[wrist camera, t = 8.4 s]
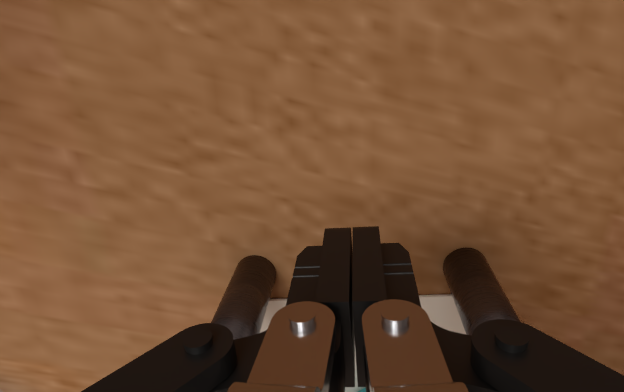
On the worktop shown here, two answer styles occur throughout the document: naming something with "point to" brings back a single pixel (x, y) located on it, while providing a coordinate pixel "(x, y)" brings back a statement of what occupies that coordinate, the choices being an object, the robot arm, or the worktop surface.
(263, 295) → the post
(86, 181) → the worktop surface
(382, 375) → the robot arm
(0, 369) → the worktop surface
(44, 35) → the worktop surface
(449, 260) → the post
